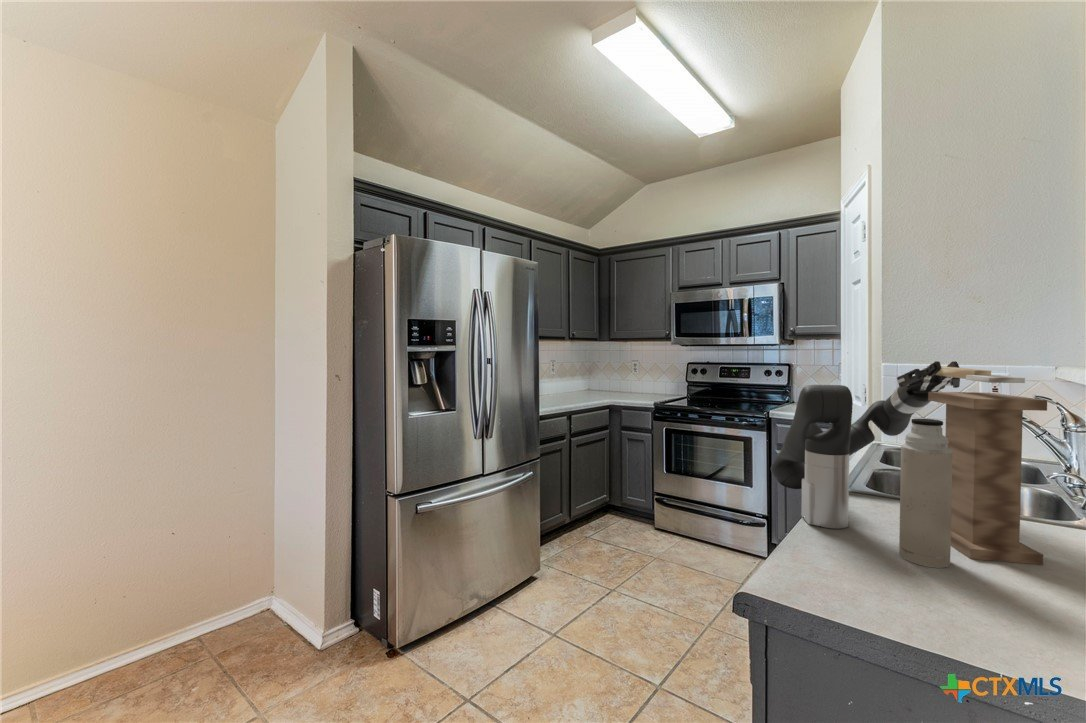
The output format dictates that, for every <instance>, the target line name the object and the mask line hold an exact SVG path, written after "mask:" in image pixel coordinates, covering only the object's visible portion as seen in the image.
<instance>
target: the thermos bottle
mask: <svg viewBox="0 0 1086 723" xmlns="http://www.w3.org/2000/svg"><path fill="white" fill-rule="evenodd" d="M911 424H912V425H911V427H910V432H909V433H906V434H905V438H904V441H905V443H904V444H901V445H900V481H899V482H900V488H899V490H900V491H899V493H900V494H899V536H898V538H899V539H898V541H899V543H898V549H899V550H898V551H899V552H898V554H899V556H900V557H901V558H902V559H904V560H906V561H907V562H910V563H912V564H917V565H920V566H923V567H928V568H935V569H936V568H938V569H939V568H940V569H941V568H942V569H945V568H948V567H950V566H951V548H952V546H951V502H952V455H953V451H952V450H951V449H949V448H948V443H949V441H948V438H947V437H945V435H943V427H942V426H943V425H944V421H943V420H941V419H940V420H939V419H931V418H912V419H911Z"/></svg>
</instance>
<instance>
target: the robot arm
mask: <svg viewBox="0 0 1086 723" xmlns="http://www.w3.org/2000/svg"><path fill="white" fill-rule="evenodd" d="M927 366H928V367H927ZM927 366H926V367H924V368H922V369H921V370H920V368H914V369H912V370H910V371H908V372H906V373H904V374H902V375H899V376H897V377H896V380H897V384H898V387H896V388H895V389H894V391H893V392H892V393H891V395H889V397H887V398H886V399H885V400H877V401H875V402H873V403H872V404H871V405H870V406H869V407H868V408H867V409H866V410H865V412H864V413H863V414H862V415H861V416H860V417H858V419H856V420H855V422H853V423H852V419H853V418H852V417H853V396H852V392H851V390H850V388H849V387H848V386H846V385H841V384H809V385H805V386H803V388H802V389H801V390H800V393H799V395H798V398H797V402H796V408H795V412H794V416H793V419H792V422H791V425H790V427H789V429H788V431H787V433H786V435H785V437H784V441H783V444H782V447H781V449H780V451H779V453H778V454H777V456H776V457H775V459H774V461H773V462H772V464H771V466H770V471H771V474H772V475H773V477H774V478H775V480H776V481H777V482H778V483H779V484H780V485H781V486H782V487H785V488H788V489H790V490H791V489H792V490H801V507H800V508H801V510H800V511H801V517H802V518H803V517H804V516H805V517H804V518H803V520H805V521H806V523H807V524H808V525H813V526H817V527H820V526H821V527H822V528H826V529H846V528H847V527H848V526H849V518H850V517H849V516H850V515H849V510H850V509H849V507H850V506H849V504H850V503H849V499H850V497H849V494H850V456H852V455H853V454H855V453H856V452H858V451H860V450H862V449H863V448H865V447H867V446H868V445H870V444H872V443H873V442H874V441H875V439H876V436H875V434H874V432H873V431H872V429H871V427H870V422H872V423H873V424H874V425H875V426H876V427H877V428H878V429H879V430H880V431H881V432H882V433H883V434H884V435H886V436H891V437H896V436H898V435H901V434H902V433H903V432H905V430H906V429H907V428H908V427H909V424H910V422H911V418H912V416H913V415H914V414H915V413H917V412H918V411H921V410H922V409H924V408H925V406H928V404H930V403H931V402H932V401H929V400H928V392H940V391H941V390H944V389H945V388H946V387H948V386H949V387H950V386H951V387H953V388H954V389H955V388H956V389H957V388H960V384H961V378H955V377H947V376H939V375H935V374H936V373H937V372H938V371H940V370H941V366H942V365H941V361H937V360H936V361H934V362H933V363H931V364H929V365H927ZM946 367H957V368H960V365H959V363H958V361H951V362H950V363H949V364H948V365H947V366H946ZM819 424H831V425H830V426H829V427H828V429H827V430H825V431H823V429H822V428H821V427H820V425H819Z"/></svg>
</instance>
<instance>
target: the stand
mask: <svg viewBox="0 0 1086 723" xmlns="http://www.w3.org/2000/svg"><path fill="white" fill-rule="evenodd" d="M928 400H929V401H931V402H934V403H939V404H940V403H941V404H945V433H944V434H945V435H944V436H945V437H947V438H948V441H949V443H948V448H949V449H951V450H952V451H953V455H952V502H951V548H953V549H955V550H956V551H957V552H959V553H961V554H962V555H964V556H966V557H967V558H968V559H969V560H980V561H982V560H983V561H994V562H1004V563H1005V562H1007V563H1018V564H1029V565H1031V564H1032V565H1041V566H1043V565H1044V554H1043V553H1041V552H1040V551H1038V550H1036V549H1034V548H1032V547H1030V546H1028V545H1026V544H1024V543H1023V542H1020V539H1021V538H1020V535H1021V532H1020V529H1021V500H1022V499H1021V497H1022V496H1021V495H1022V494H1021V493H1022V491H1021V490H1022V459H1023V458H1022V456H1023V455H1022V453H1023V452H1022V451H1023V416H1024V415H1023V414H1024V411H1040V412H1041V411H1048V400H1047V399H1041V398H1033V397H1025V396H1017V395H1011V394H1002V393H995V392H975V391H974V392H971V391H970V392H969V391H968V392H967V391H963V392H961V391H938V392H928Z"/></svg>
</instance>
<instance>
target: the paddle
mask: <svg viewBox="0 0 1086 723" xmlns="http://www.w3.org/2000/svg"><path fill="white" fill-rule="evenodd" d="M928 366H929V365H926V368H927V367H928ZM935 375H939V376H947V377H955V378H960V379H965V380H966V381H971V382H972V381H973V382H981V383H988V384H989V383H991V384H994V383H995V384H997V383H999V384H1002V383H1003V384H1007V383H1008V384H1025V383H1026V382H1025V381H1026V378H1025V377H1020V376H1009V375H999V374H998V375H995V374H994V375H992V370H990V369H989V370H988V369H977V368H966V367H959V368H957V367H947V366H943V365H941V370H940V371H938V372H937V373H936V374H935Z"/></svg>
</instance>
